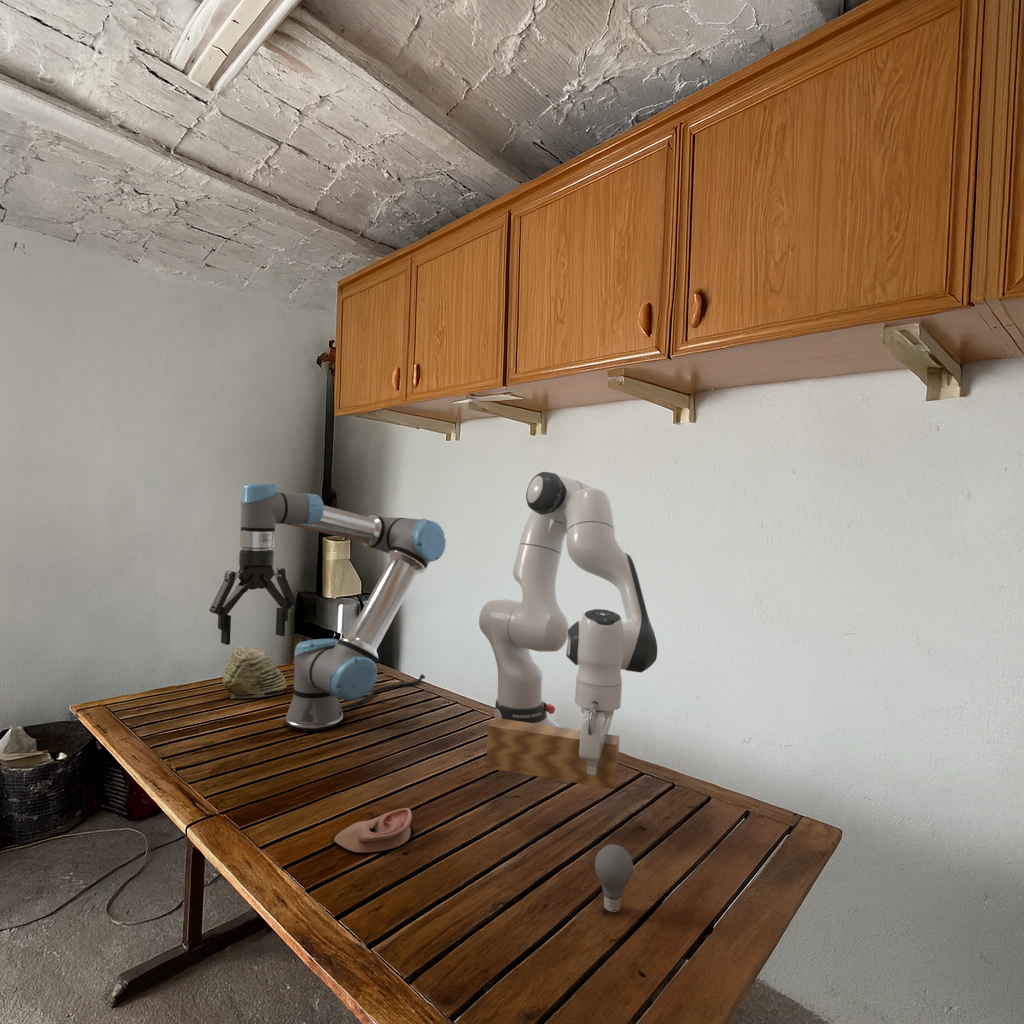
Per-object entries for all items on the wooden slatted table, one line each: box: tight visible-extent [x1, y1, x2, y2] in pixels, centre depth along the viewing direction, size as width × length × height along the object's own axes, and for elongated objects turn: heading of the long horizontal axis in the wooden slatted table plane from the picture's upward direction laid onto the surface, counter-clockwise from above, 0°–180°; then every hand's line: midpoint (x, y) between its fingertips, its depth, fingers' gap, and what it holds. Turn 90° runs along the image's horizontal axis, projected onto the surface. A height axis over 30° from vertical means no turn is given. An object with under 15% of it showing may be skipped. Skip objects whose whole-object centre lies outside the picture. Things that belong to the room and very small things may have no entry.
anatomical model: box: [333, 807, 413, 854], centre depth 119 cm, size 13×4×12 cm
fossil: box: [222, 646, 288, 699], centre depth 198 cm, size 9×18×15 cm, turn 132°
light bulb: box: [594, 844, 634, 913], centre depth 100 cm, size 6×6×10 cm
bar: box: [485, 717, 620, 790], centre depth 125 cm, size 25×5×8 cm, turn 75°
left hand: (253, 639), depth 148 cm, fingers open, 13 cm apart
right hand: (594, 766), depth 123 cm, fingers closed on bar, 5 cm apart
